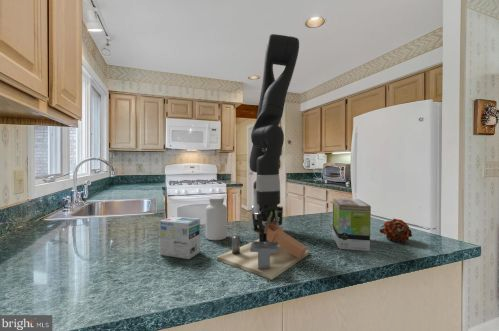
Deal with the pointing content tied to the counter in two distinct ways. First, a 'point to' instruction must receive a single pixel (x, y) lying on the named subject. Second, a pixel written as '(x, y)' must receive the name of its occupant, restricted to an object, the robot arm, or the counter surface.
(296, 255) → the link
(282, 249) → the board
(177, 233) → the light bulb box
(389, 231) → the pine cone
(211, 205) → the pill bottle
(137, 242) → the counter surface
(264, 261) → the block
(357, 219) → the tea box
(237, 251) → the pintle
